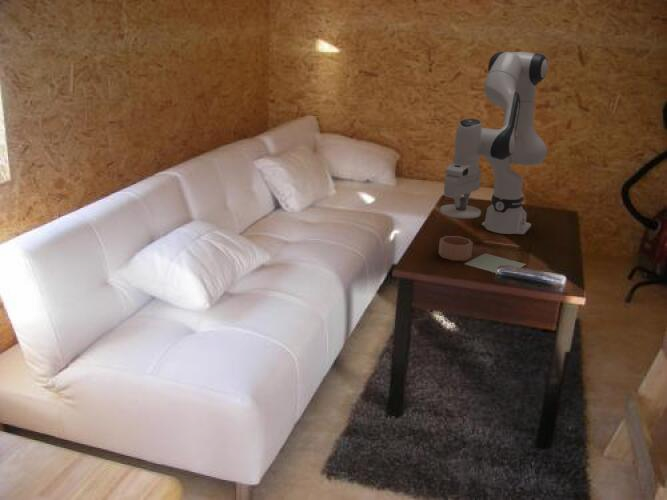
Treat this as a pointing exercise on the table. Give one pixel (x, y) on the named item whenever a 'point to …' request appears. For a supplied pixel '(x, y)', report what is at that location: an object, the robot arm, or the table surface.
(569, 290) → the table surface
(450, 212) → the lid
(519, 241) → the table surface
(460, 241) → the bowl
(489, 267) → the mat
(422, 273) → the table surface
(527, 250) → the table surface
